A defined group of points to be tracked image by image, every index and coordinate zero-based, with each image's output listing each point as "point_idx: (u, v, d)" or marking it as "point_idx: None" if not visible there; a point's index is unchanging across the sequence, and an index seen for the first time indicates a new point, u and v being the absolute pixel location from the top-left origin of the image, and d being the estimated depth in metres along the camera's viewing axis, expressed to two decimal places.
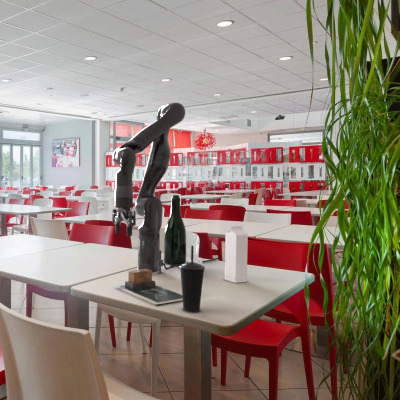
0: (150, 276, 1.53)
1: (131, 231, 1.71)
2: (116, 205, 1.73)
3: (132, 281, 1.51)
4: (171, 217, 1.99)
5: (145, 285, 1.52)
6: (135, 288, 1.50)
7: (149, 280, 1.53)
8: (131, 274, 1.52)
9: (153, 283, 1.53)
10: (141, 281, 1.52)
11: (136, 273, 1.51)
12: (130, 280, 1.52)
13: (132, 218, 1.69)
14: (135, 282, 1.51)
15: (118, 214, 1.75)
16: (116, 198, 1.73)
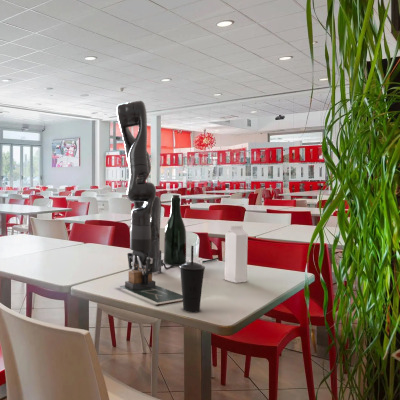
0: (150, 276, 1.53)
1: (147, 280, 1.50)
2: (132, 248, 1.51)
3: (132, 281, 1.51)
4: (171, 217, 1.99)
5: (145, 285, 1.52)
6: (135, 288, 1.50)
7: (149, 280, 1.53)
8: (131, 274, 1.52)
9: (153, 283, 1.53)
10: (141, 281, 1.52)
11: (136, 273, 1.51)
12: (130, 280, 1.52)
13: (149, 267, 1.48)
14: (135, 282, 1.51)
15: (134, 257, 1.53)
16: (132, 240, 1.51)
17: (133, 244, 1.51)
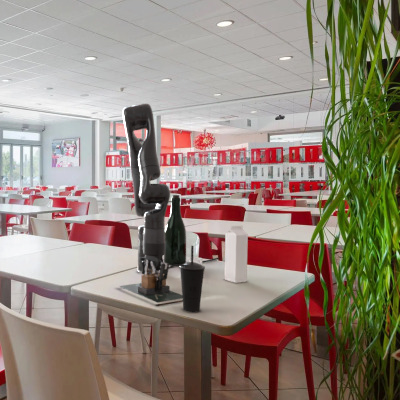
0: (164, 280, 1.47)
1: (161, 286, 1.44)
2: (145, 252, 1.44)
3: (145, 286, 1.44)
4: (171, 217, 1.99)
5: None
6: (149, 293, 1.43)
7: (163, 285, 1.47)
8: (144, 278, 1.45)
9: (167, 288, 1.47)
10: (155, 286, 1.45)
11: (150, 277, 1.44)
12: (143, 285, 1.45)
13: (164, 272, 1.41)
14: (149, 287, 1.44)
15: (147, 262, 1.46)
16: (145, 244, 1.44)
17: (146, 248, 1.44)
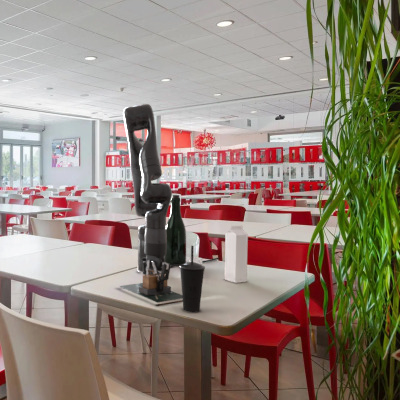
0: (165, 281, 1.45)
1: (162, 286, 1.42)
2: (147, 252, 1.43)
3: (146, 286, 1.43)
4: (171, 217, 1.99)
5: None
6: (150, 294, 1.42)
7: (164, 285, 1.45)
8: (145, 279, 1.44)
9: (168, 288, 1.45)
10: (156, 286, 1.44)
11: (151, 278, 1.43)
12: (144, 285, 1.44)
13: (165, 272, 1.40)
14: (150, 287, 1.42)
15: (149, 262, 1.45)
16: (147, 244, 1.43)
17: (148, 248, 1.43)
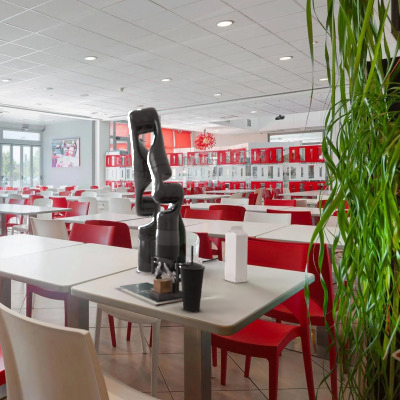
0: None
1: (178, 288, 1.36)
2: (158, 255, 1.38)
3: (158, 291, 1.38)
4: None
5: (172, 296, 1.38)
6: (161, 299, 1.36)
7: None
8: (156, 283, 1.38)
9: (180, 293, 1.40)
10: (168, 291, 1.38)
11: (162, 282, 1.37)
12: (155, 290, 1.39)
13: (180, 272, 1.34)
14: (161, 292, 1.37)
15: (160, 265, 1.40)
16: (158, 246, 1.38)
17: (159, 250, 1.37)
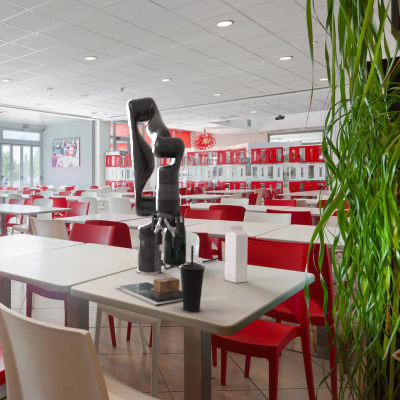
0: (177, 285, 1.40)
1: (178, 242, 1.35)
2: (159, 209, 1.37)
3: (158, 291, 1.38)
4: None
5: (172, 296, 1.38)
6: (161, 299, 1.36)
7: (176, 290, 1.40)
8: (156, 283, 1.38)
9: (180, 293, 1.40)
10: (168, 291, 1.38)
11: (162, 282, 1.37)
12: (155, 290, 1.39)
13: (180, 226, 1.33)
14: (161, 292, 1.37)
15: (161, 220, 1.39)
16: (159, 200, 1.37)
17: (160, 205, 1.37)
